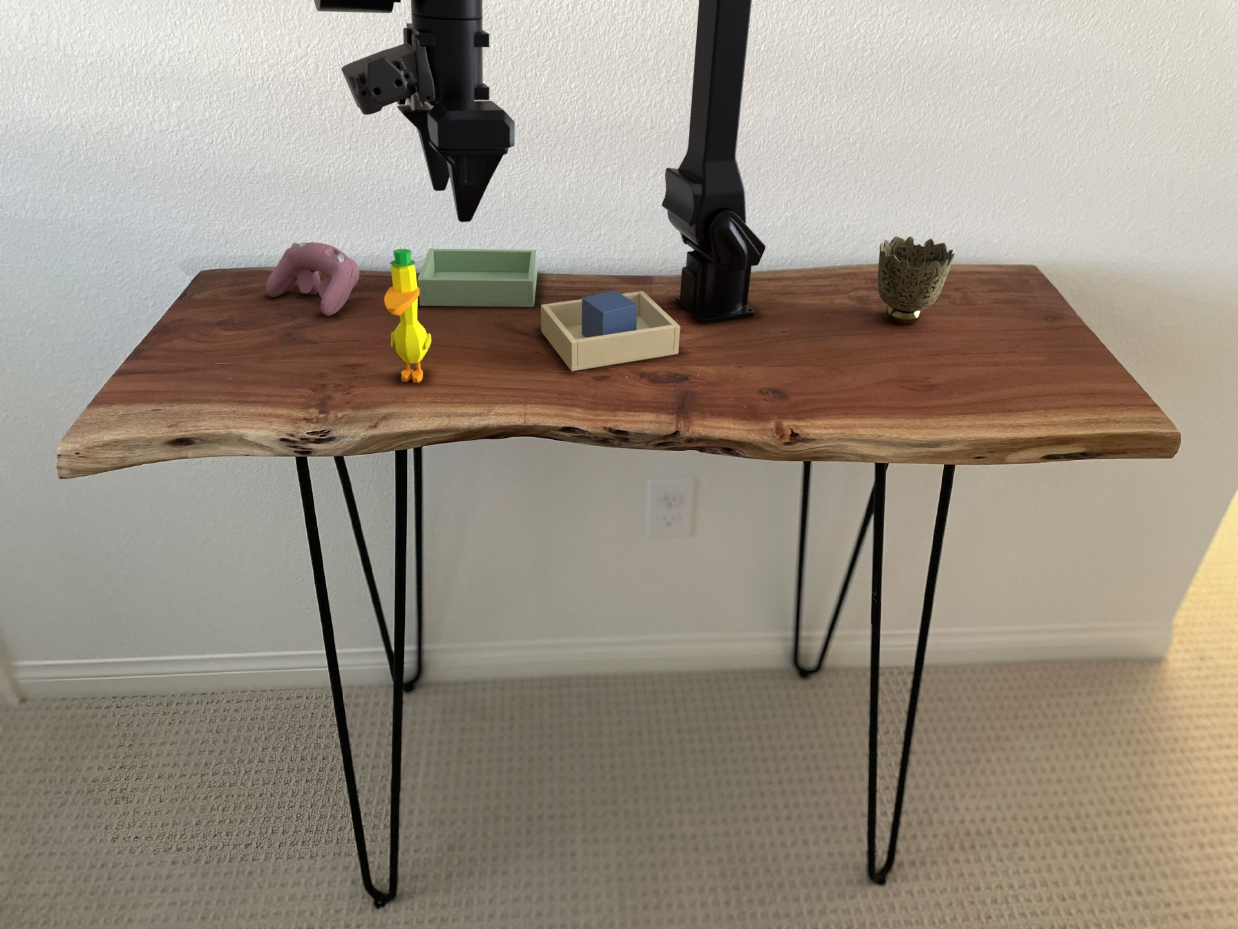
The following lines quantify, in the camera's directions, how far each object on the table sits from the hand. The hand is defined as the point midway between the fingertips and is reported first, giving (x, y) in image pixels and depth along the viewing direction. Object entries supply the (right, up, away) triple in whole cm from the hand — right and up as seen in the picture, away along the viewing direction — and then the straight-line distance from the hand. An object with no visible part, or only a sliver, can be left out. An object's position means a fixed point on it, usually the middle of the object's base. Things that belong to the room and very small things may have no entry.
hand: (451, 205), depth 84 cm
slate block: (+14, -11, +9) cm, 20 cm away
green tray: (0, -4, +20) cm, 20 cm away
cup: (+46, -8, +16) cm, 49 cm away
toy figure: (-4, -16, +2) cm, 16 cm away
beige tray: (+14, -11, +10) cm, 20 cm away
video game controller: (-18, -6, +17) cm, 25 cm away
